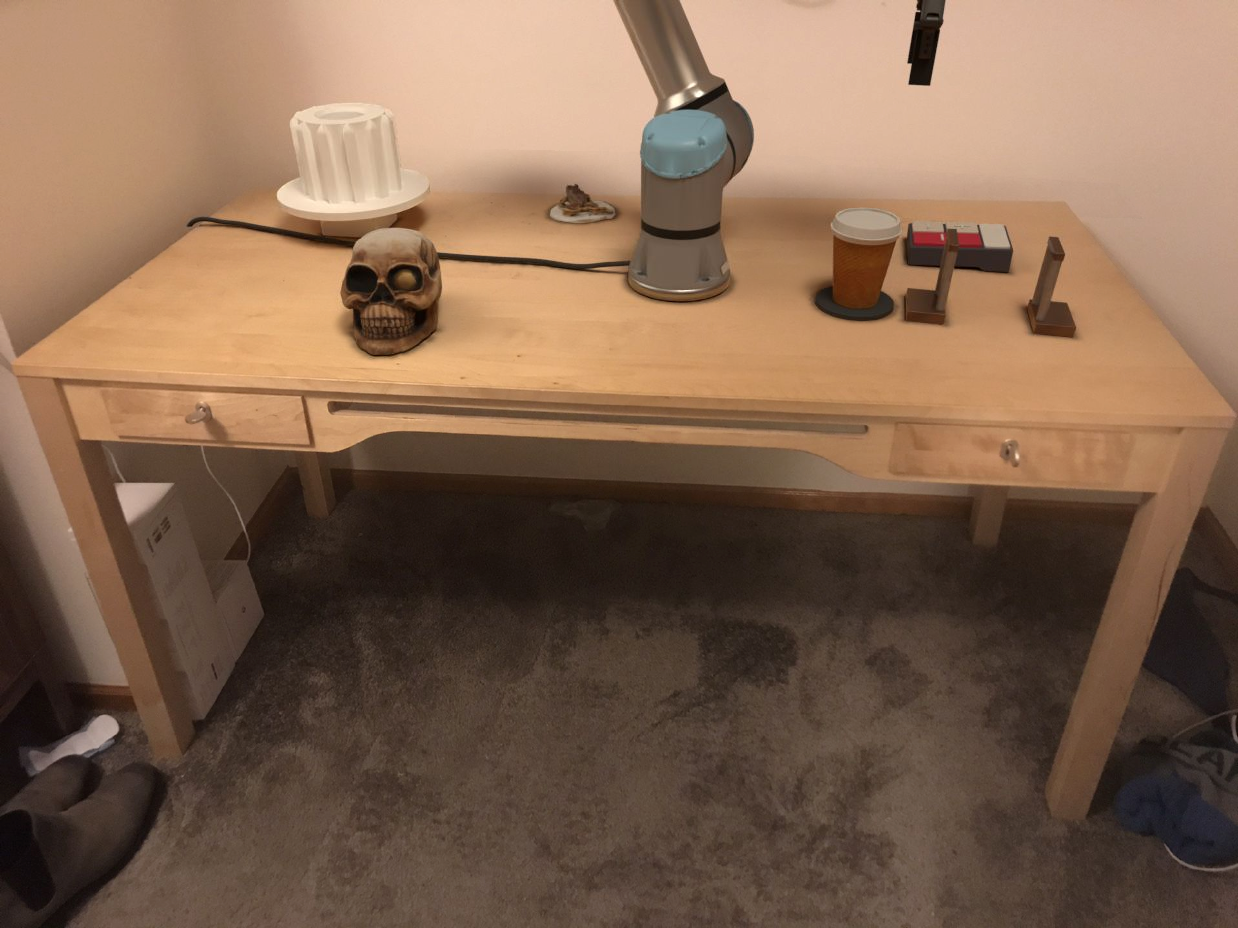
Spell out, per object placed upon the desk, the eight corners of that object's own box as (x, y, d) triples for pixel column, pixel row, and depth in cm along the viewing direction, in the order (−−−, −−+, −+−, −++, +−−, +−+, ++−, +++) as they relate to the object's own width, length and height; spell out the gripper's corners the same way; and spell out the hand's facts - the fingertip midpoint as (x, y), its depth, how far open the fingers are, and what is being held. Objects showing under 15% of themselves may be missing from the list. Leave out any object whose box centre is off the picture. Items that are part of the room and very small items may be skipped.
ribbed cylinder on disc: (404, 258, 144) (386, 137, 133) (258, 250, 147) (229, 130, 136) (452, 206, 164) (440, 97, 153) (323, 200, 168) (302, 92, 157)
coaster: (812, 316, 126) (812, 312, 125) (817, 285, 135) (818, 281, 134) (893, 324, 124) (894, 320, 123) (893, 292, 132) (894, 288, 132)
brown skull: (374, 360, 115) (355, 257, 109) (325, 326, 128) (305, 232, 121) (481, 330, 123) (469, 233, 117) (425, 301, 136) (411, 212, 129)
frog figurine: (538, 207, 164) (536, 186, 161) (598, 198, 168) (597, 177, 165) (561, 227, 155) (560, 205, 153) (624, 217, 159) (624, 195, 157)
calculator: (908, 218, 147) (1006, 220, 144) (905, 243, 150) (1001, 246, 146) (910, 242, 138) (1014, 245, 135) (907, 268, 141) (1009, 272, 138)
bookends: (906, 320, 124) (920, 244, 118) (905, 297, 131) (919, 223, 124) (1073, 337, 120) (1097, 259, 114) (1064, 312, 126) (1087, 237, 120)
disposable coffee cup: (819, 310, 126) (830, 227, 119) (823, 283, 133) (833, 204, 127) (889, 317, 124) (904, 233, 117) (889, 289, 132) (903, 209, 125)
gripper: (991, -108, 99) (951, 96, 111) (975, -117, 118) (943, 57, 130) (920, -108, 100) (888, 93, 112) (916, -118, 120) (889, 54, 132)
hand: (918, 74), depth 121 cm, fingers open, 13 cm apart
